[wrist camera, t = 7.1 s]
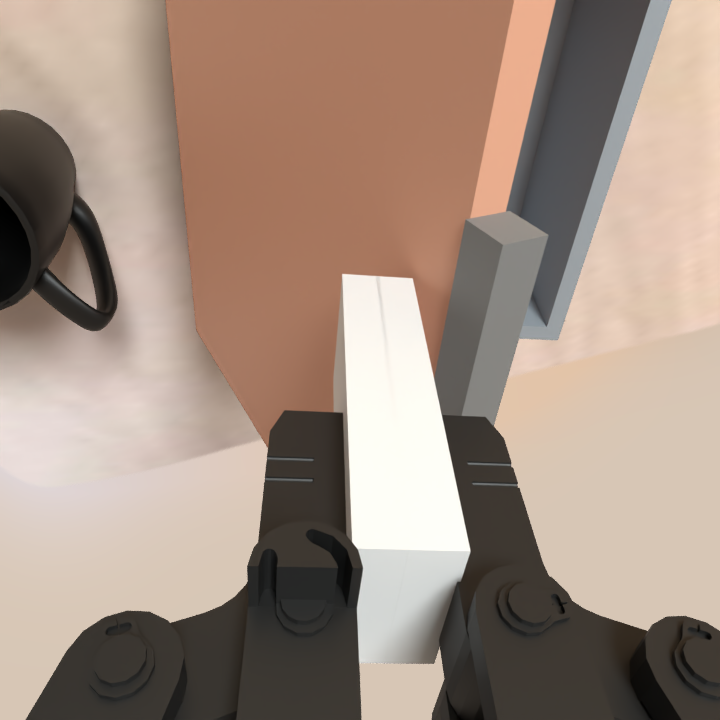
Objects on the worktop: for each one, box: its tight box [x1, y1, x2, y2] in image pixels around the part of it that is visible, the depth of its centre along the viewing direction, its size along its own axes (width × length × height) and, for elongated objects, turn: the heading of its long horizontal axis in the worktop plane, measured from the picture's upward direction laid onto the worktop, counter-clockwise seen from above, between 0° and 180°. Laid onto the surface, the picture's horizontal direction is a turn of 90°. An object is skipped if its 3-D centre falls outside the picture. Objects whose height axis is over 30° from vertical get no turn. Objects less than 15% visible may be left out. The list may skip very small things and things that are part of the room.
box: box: [506, 0, 672, 340], centre depth 29 cm, size 18×22×9 cm
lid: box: [166, 0, 556, 447], centre depth 19 cm, size 19×22×1 cm
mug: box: [0, 110, 118, 331], centre depth 33 cm, size 8×12×10 cm
